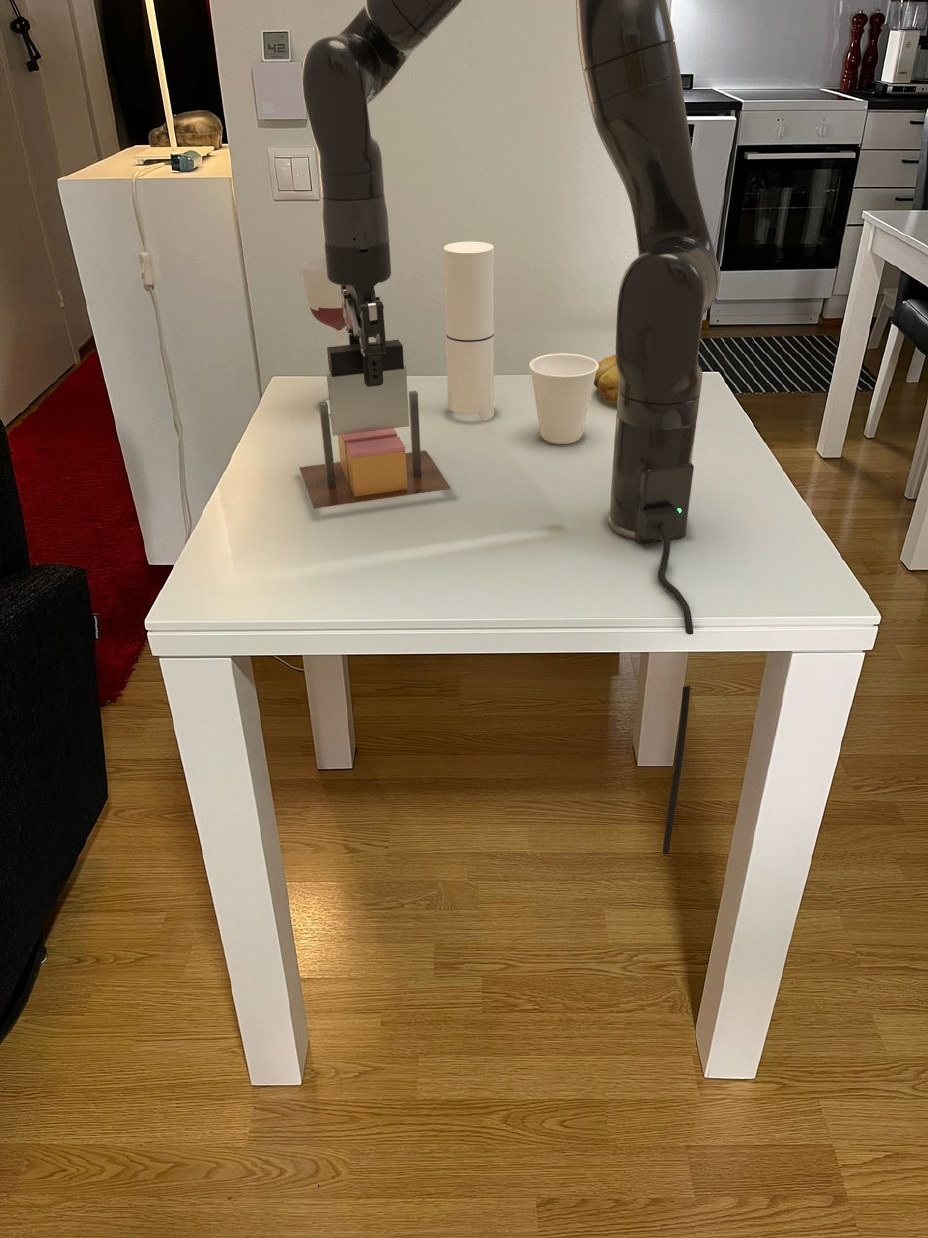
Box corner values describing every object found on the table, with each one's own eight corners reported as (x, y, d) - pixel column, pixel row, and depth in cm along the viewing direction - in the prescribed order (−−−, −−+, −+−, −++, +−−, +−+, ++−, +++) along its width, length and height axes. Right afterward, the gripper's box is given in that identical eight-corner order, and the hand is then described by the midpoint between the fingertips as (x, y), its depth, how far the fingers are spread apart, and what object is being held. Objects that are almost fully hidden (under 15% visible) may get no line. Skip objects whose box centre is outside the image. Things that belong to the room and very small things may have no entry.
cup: (597, 450, 139) (602, 375, 133) (528, 450, 139) (530, 376, 133) (591, 423, 147) (595, 352, 141) (526, 424, 148) (527, 353, 142)
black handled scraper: (411, 429, 125) (406, 344, 119) (334, 438, 122) (326, 353, 116) (406, 422, 127) (402, 338, 121) (331, 431, 124) (322, 347, 118)
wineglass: (310, 400, 157) (295, 260, 145) (367, 392, 160) (356, 254, 148) (323, 419, 151) (308, 274, 138) (382, 410, 153) (372, 267, 141)
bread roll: (660, 413, 150) (665, 363, 146) (597, 414, 150) (601, 364, 146) (647, 384, 161) (651, 337, 156) (588, 385, 161) (591, 338, 157)
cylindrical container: (443, 420, 149) (437, 251, 136) (454, 404, 155) (450, 240, 141) (488, 424, 148) (487, 253, 134) (498, 407, 154) (498, 242, 140)
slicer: (451, 498, 127) (449, 403, 120) (315, 518, 123) (304, 422, 116) (426, 459, 137) (422, 370, 130) (300, 477, 133) (289, 385, 126)
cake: (407, 489, 126) (405, 446, 123) (354, 497, 124) (350, 453, 121) (390, 459, 134) (387, 418, 131) (340, 466, 132) (336, 424, 129)
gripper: (314, 227, 116) (327, 359, 125) (335, 253, 105) (347, 396, 114) (375, 222, 118) (383, 353, 127) (402, 247, 107) (409, 389, 116)
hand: (366, 373), depth 120 cm, fingers open, 8 cm apart
